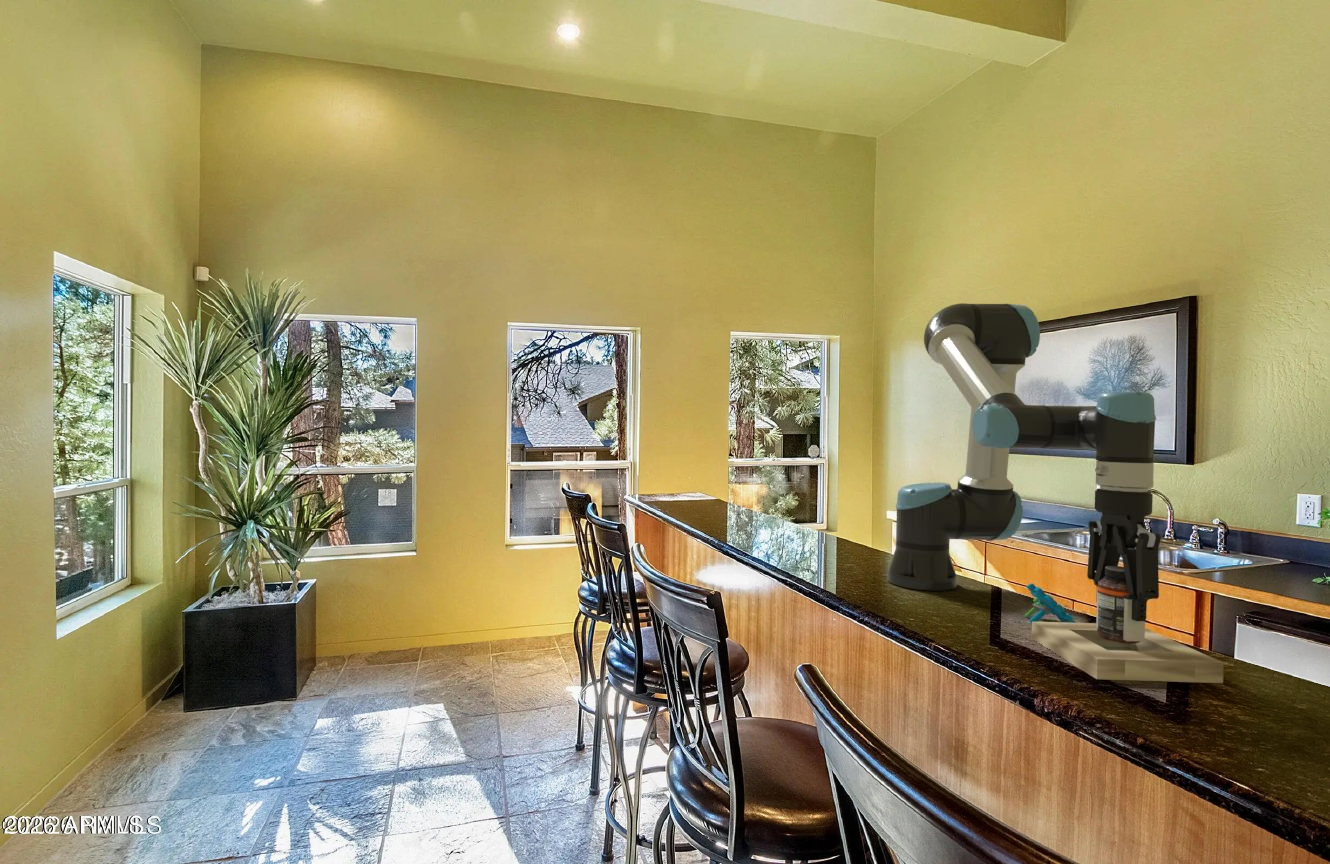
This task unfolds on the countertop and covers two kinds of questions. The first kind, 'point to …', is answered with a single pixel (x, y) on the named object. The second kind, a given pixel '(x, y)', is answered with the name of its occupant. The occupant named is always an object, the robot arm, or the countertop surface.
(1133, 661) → the socket holder
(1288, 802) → the countertop surface
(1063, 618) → the gear
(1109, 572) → the supplement bottle
